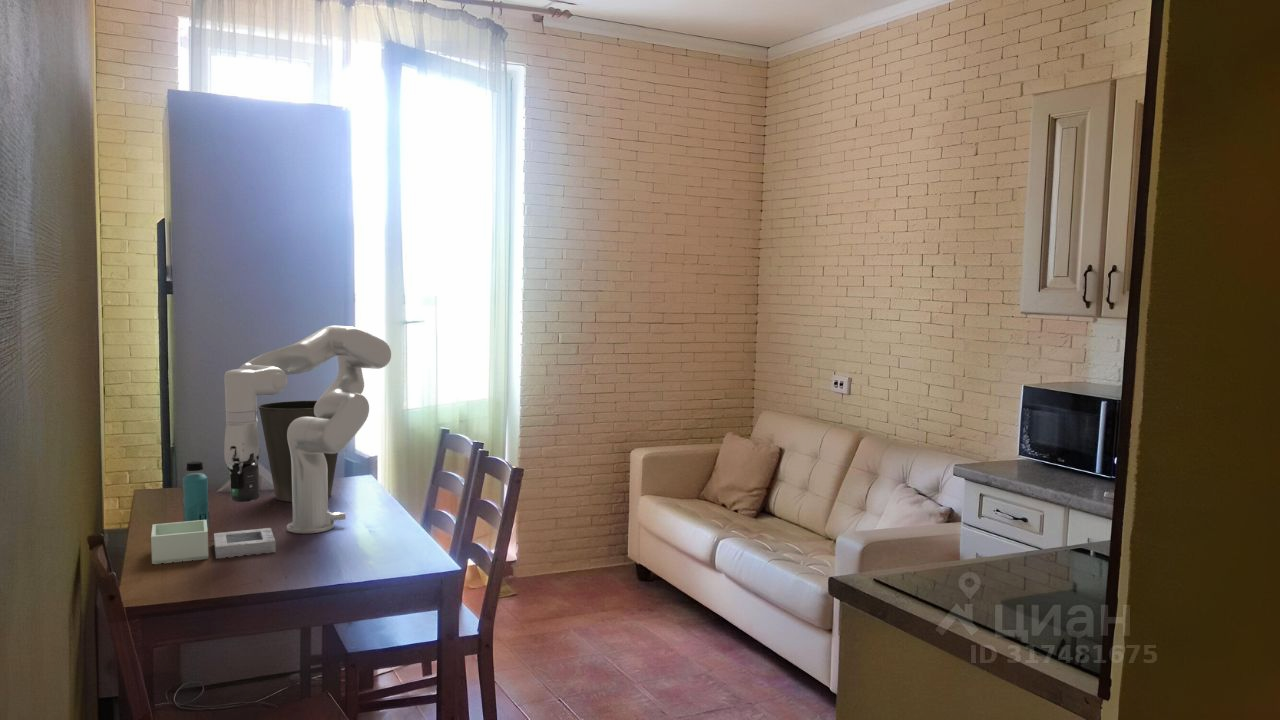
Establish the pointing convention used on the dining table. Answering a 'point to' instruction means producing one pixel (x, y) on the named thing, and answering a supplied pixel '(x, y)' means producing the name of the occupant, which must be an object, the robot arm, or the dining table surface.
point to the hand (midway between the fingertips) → (244, 484)
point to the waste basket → (275, 434)
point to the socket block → (244, 542)
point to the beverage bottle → (195, 494)
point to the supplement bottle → (248, 482)
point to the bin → (179, 541)
